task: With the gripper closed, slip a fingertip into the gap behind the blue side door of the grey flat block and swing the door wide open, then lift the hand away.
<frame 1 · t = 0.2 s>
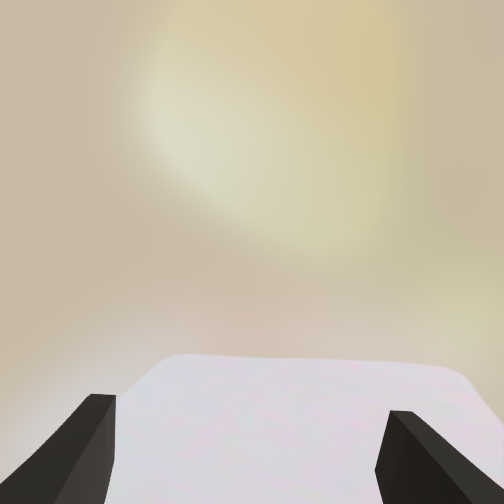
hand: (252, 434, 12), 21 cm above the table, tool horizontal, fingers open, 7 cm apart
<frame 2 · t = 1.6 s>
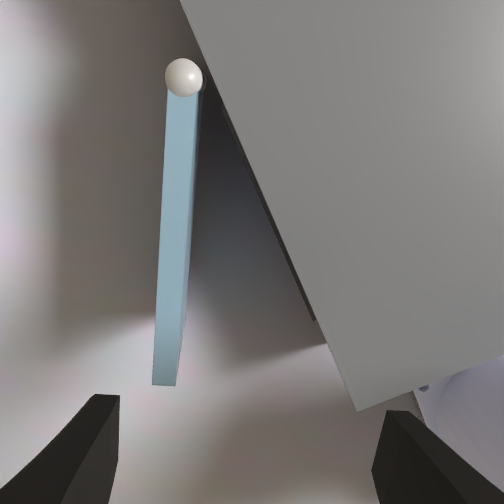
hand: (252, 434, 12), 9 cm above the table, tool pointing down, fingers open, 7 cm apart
side door: (179, 220, 16), point 3 cm above the table, hinge at 30.0°
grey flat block: (362, 111, 19), on the table
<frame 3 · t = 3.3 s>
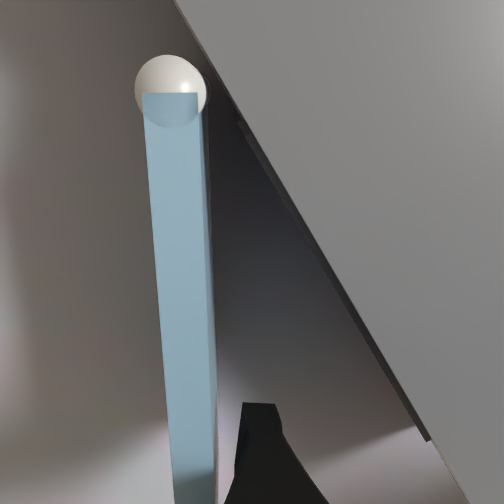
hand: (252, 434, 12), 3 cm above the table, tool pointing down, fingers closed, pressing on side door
side door: (194, 310, 11), point 3 cm above the table, hinge at 30.8°, touching gripper
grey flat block: (448, 99, 12), on the table
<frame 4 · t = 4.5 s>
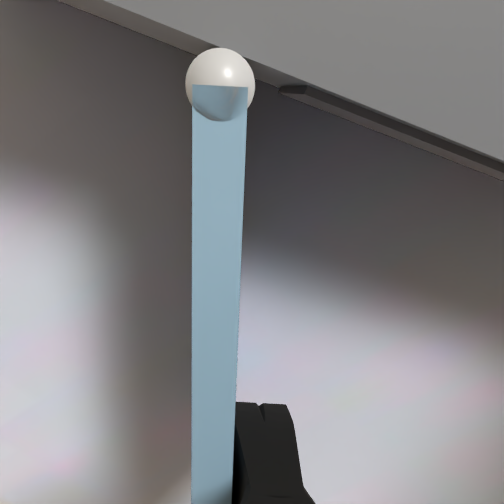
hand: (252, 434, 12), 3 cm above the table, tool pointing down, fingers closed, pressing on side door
side door: (215, 306, 11), point 3 cm above the table, hinge at 72.6°, touching gripper
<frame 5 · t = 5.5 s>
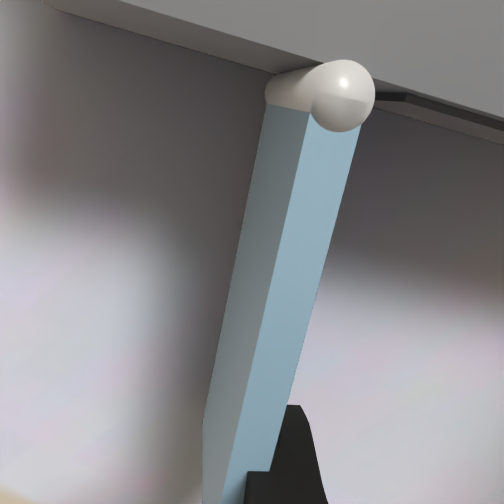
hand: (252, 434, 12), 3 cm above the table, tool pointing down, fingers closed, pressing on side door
side door: (257, 311, 10), point 3 cm above the table, hinge at 86.5°, touching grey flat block, gripper
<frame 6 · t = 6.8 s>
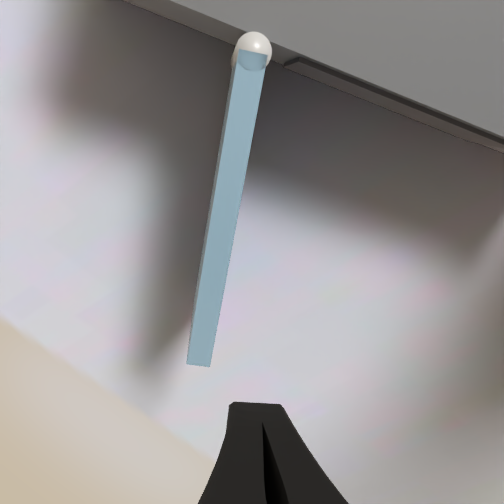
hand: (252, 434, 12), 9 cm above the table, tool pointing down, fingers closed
side door: (223, 200, 16), point 3 cm above the table, hinge at 80.9°, touching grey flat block
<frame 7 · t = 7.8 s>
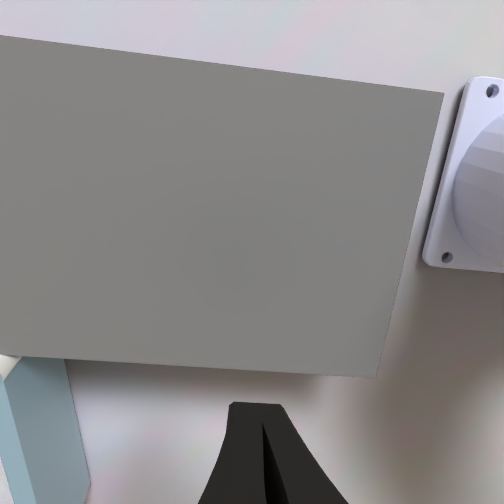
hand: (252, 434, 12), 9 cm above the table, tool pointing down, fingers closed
side door: (44, 436, 19), point 3 cm above the table, hinge at 80.6°, touching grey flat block
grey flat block: (141, 190, 19), on the table
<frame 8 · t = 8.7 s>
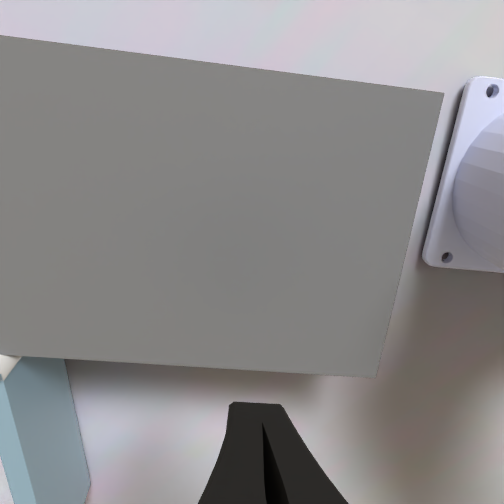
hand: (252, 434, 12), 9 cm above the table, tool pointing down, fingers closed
side door: (44, 436, 19), point 3 cm above the table, hinge at 80.6°, touching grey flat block
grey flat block: (141, 190, 19), on the table
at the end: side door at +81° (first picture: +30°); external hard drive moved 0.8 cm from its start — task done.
